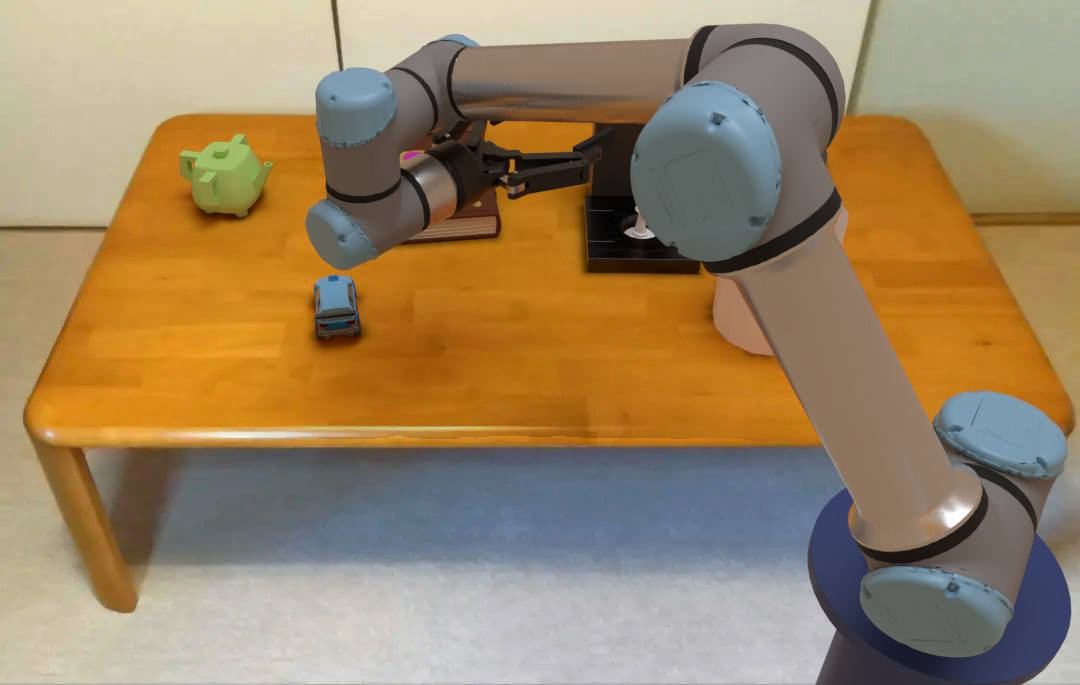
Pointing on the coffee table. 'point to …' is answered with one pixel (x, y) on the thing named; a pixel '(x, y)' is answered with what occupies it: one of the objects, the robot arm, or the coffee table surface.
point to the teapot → (225, 176)
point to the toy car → (336, 307)
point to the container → (736, 315)
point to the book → (467, 222)
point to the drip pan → (626, 241)
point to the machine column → (615, 162)
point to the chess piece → (639, 229)
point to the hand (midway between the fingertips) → (570, 116)
